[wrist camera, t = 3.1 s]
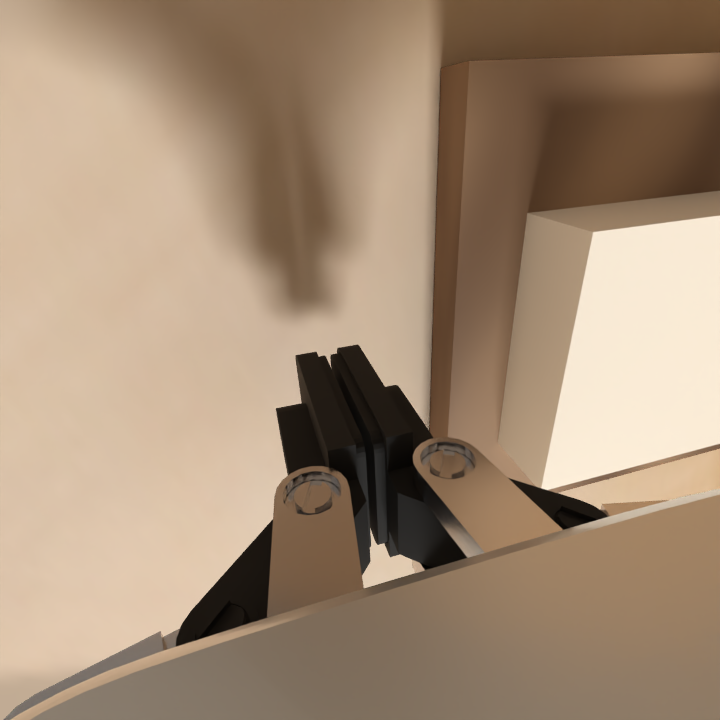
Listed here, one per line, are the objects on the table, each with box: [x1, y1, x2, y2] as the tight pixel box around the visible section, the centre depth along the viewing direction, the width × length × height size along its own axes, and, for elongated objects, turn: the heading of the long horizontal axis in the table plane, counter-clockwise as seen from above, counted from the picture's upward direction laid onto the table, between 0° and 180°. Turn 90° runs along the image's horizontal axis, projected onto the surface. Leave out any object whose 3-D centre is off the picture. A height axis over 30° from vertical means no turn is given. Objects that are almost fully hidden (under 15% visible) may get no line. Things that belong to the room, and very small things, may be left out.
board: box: [430, 53, 720, 493], centre depth 16 cm, size 15×15×2 cm
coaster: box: [498, 191, 720, 490], centre depth 14 cm, size 8×8×2 cm
